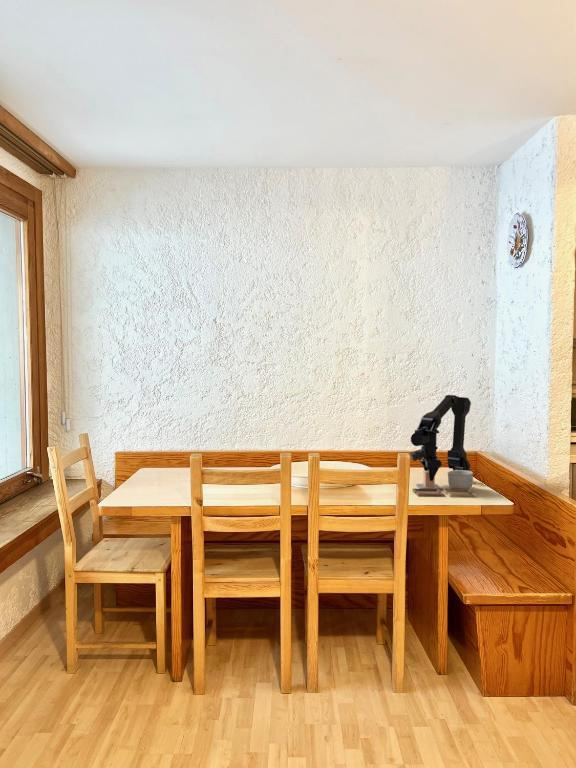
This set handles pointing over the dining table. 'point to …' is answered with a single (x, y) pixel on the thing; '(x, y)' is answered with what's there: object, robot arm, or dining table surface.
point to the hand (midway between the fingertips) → (429, 479)
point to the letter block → (427, 480)
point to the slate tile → (428, 487)
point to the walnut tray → (428, 492)
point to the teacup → (460, 479)
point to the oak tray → (459, 493)
